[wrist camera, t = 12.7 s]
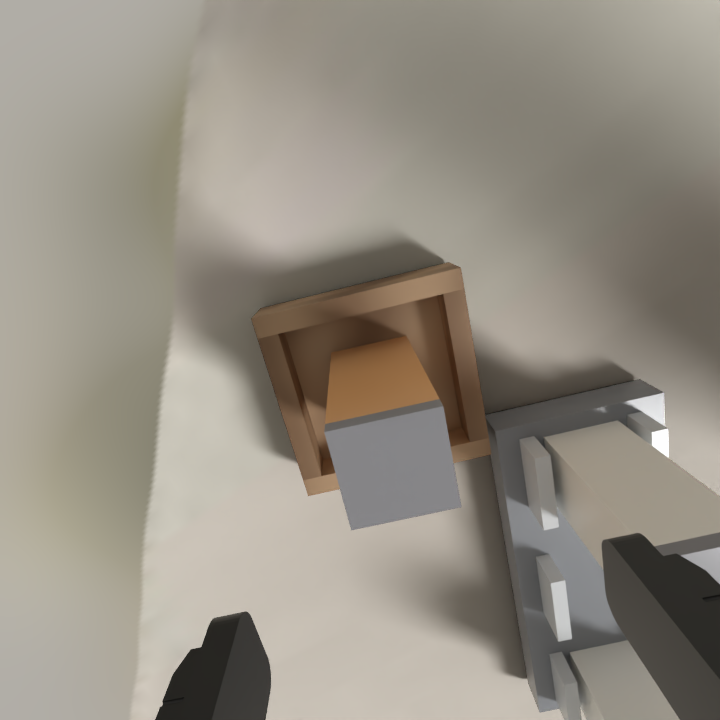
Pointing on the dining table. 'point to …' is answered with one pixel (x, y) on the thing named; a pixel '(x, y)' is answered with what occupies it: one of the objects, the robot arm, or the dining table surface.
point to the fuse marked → (387, 435)
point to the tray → (366, 326)
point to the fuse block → (591, 538)
